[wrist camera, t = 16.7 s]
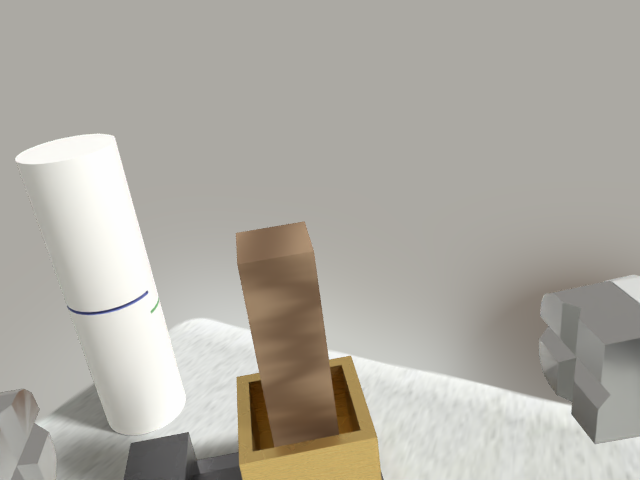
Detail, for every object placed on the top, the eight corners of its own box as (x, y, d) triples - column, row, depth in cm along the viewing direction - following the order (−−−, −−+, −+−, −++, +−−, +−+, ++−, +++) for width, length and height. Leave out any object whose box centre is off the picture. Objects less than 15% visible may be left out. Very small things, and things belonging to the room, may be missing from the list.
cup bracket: (118, 665, 35) (64, 544, 31) (146, 480, 48) (111, 374, 43) (417, 599, 36) (408, 473, 32) (368, 436, 49) (356, 329, 45)
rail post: (281, 488, 38) (236, 264, 31) (276, 441, 41) (235, 232, 35) (345, 474, 38) (314, 251, 31) (334, 429, 42) (305, 221, 35)
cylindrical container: (91, 421, 55) (-6, 160, 44) (147, 374, 60) (73, 132, 49) (147, 444, 51) (57, 167, 40) (201, 392, 57) (134, 135, 46)
